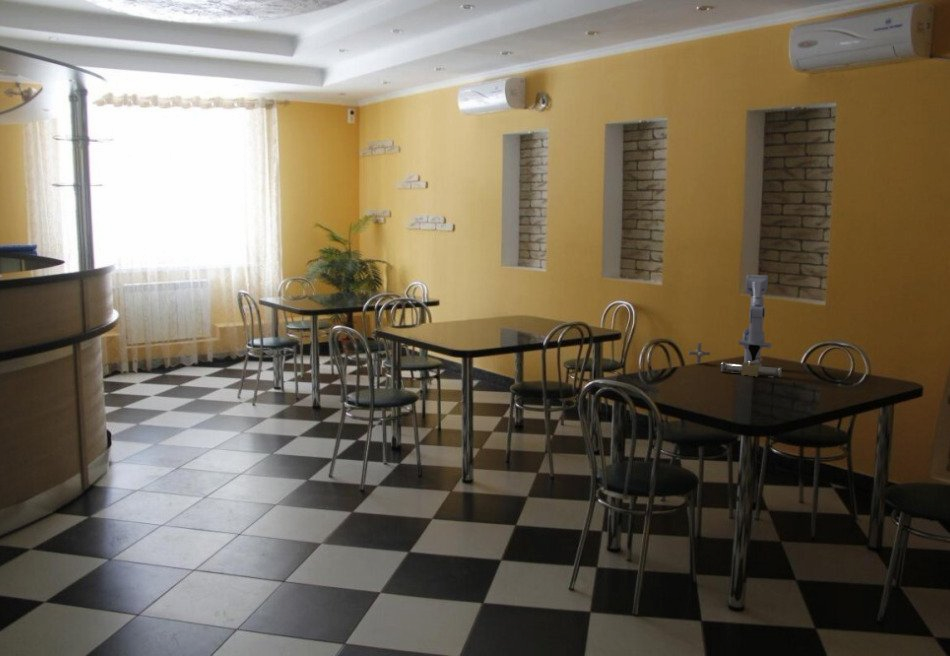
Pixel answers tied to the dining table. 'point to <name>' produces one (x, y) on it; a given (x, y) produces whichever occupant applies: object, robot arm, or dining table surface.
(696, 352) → the pipe connector
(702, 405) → the dining table surface
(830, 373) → the dining table surface
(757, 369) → the valve pipe
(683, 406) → the dining table surface
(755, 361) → the lever
